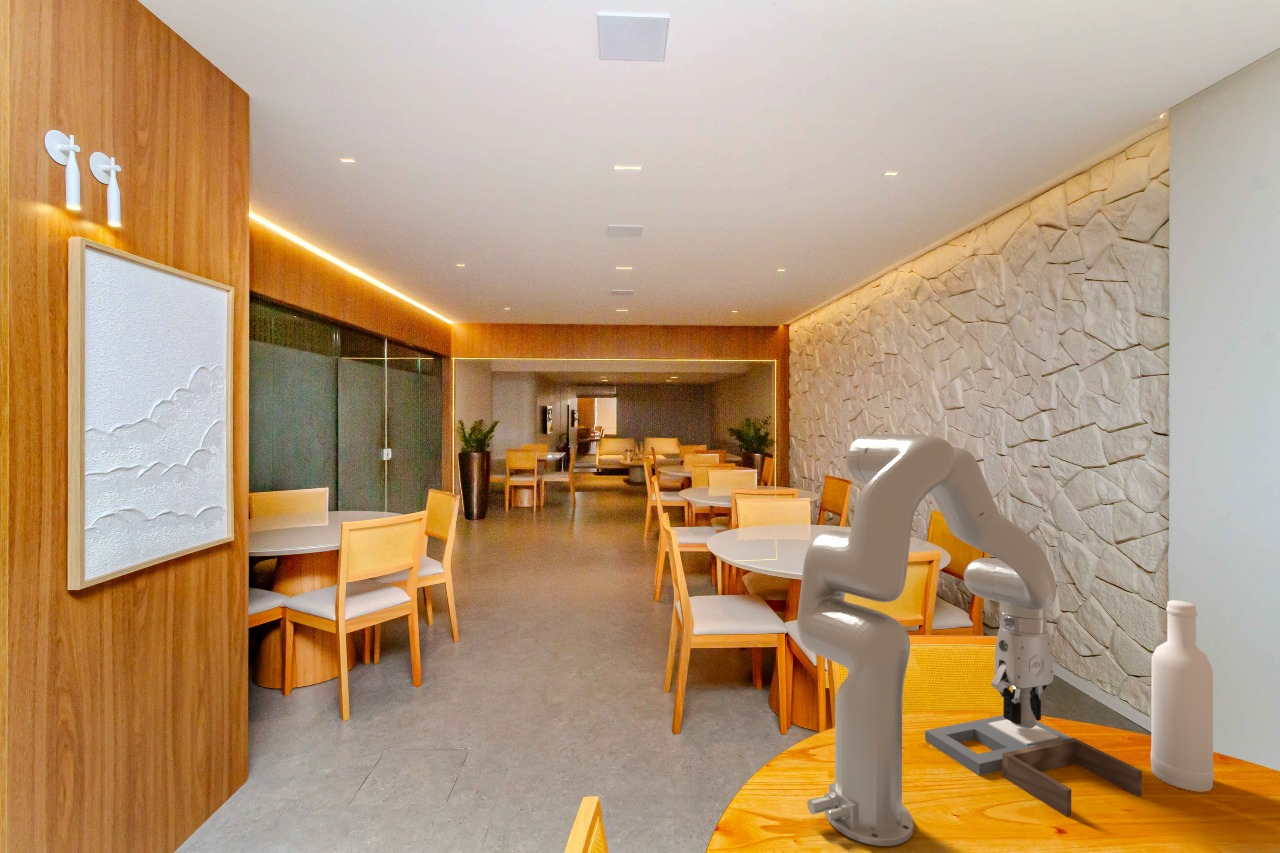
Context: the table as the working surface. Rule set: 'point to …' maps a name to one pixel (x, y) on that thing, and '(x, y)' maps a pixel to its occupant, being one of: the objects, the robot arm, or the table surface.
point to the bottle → (1182, 705)
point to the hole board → (989, 741)
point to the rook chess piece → (1026, 709)
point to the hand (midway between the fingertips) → (1022, 718)
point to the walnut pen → (1034, 760)
